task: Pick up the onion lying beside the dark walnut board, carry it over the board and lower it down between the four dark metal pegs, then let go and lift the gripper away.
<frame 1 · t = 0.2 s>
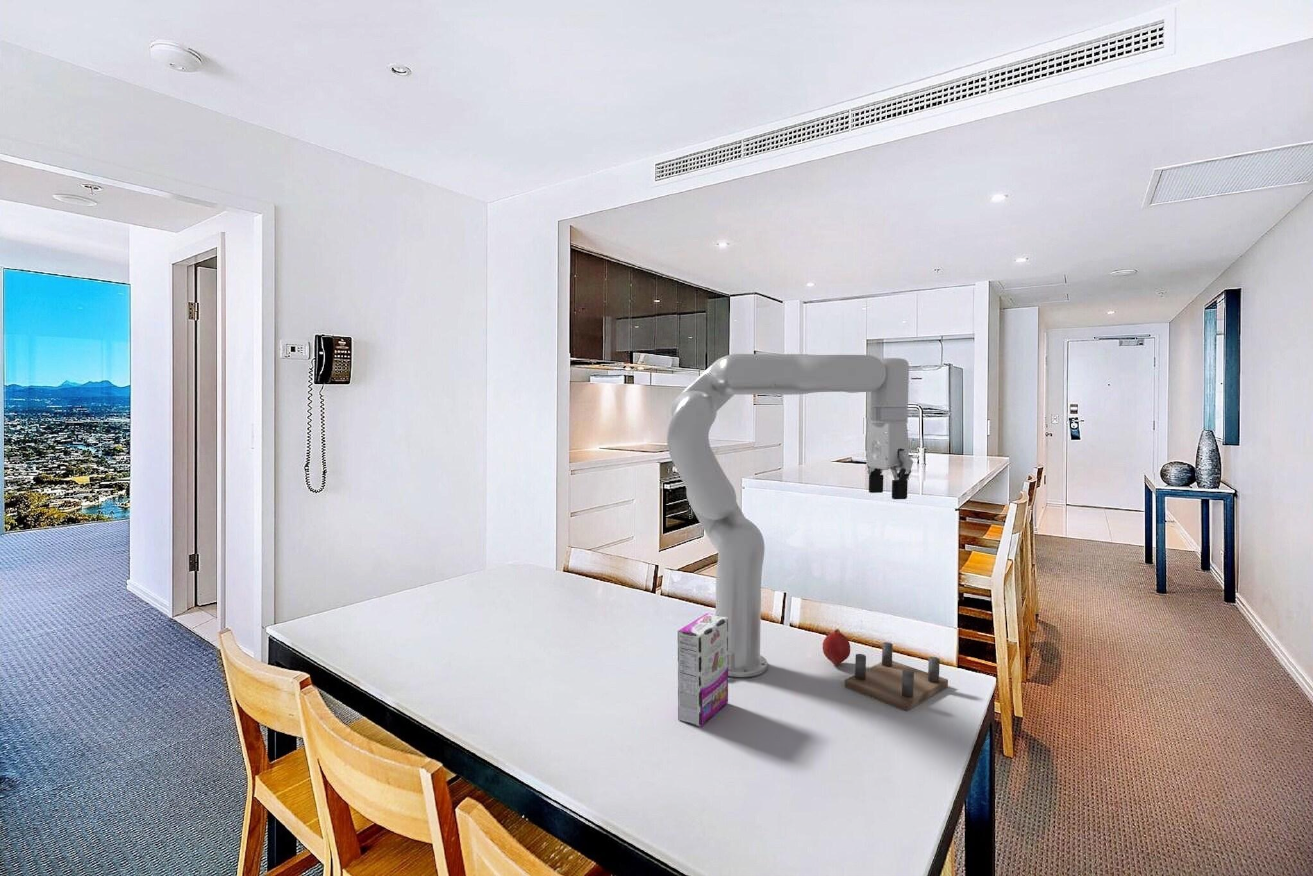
hand: (887, 495, 139), 36 cm above the table, tool pointing down, fingers open, 9 cm apart
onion: (835, 665, 138), on the table
peg holder: (896, 686, 128), on the table
candy bar box: (702, 712, 117), on the table
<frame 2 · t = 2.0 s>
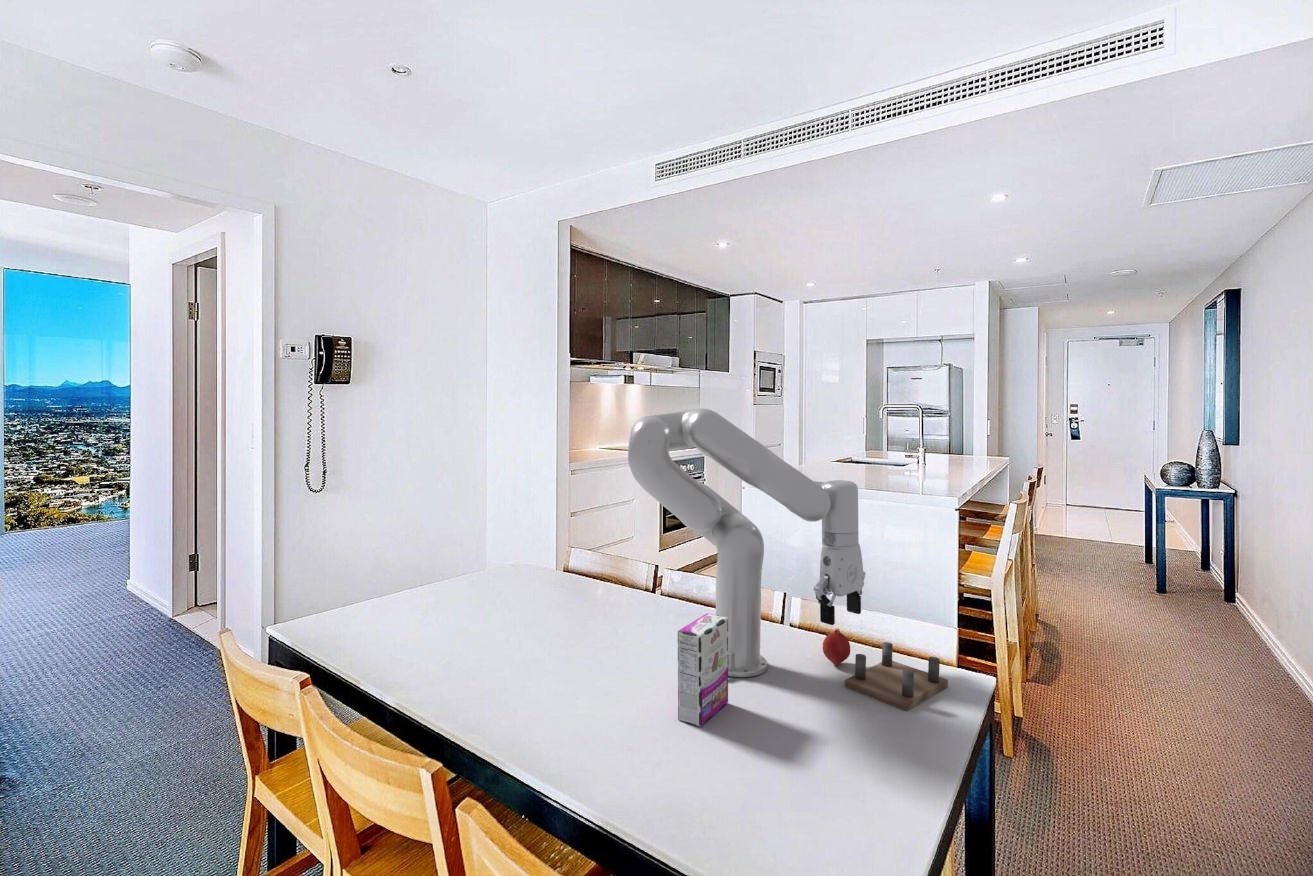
hand: (841, 617, 138), 10 cm above the table, tool pointing down, fingers open, 9 cm apart
nothing on the table moved.
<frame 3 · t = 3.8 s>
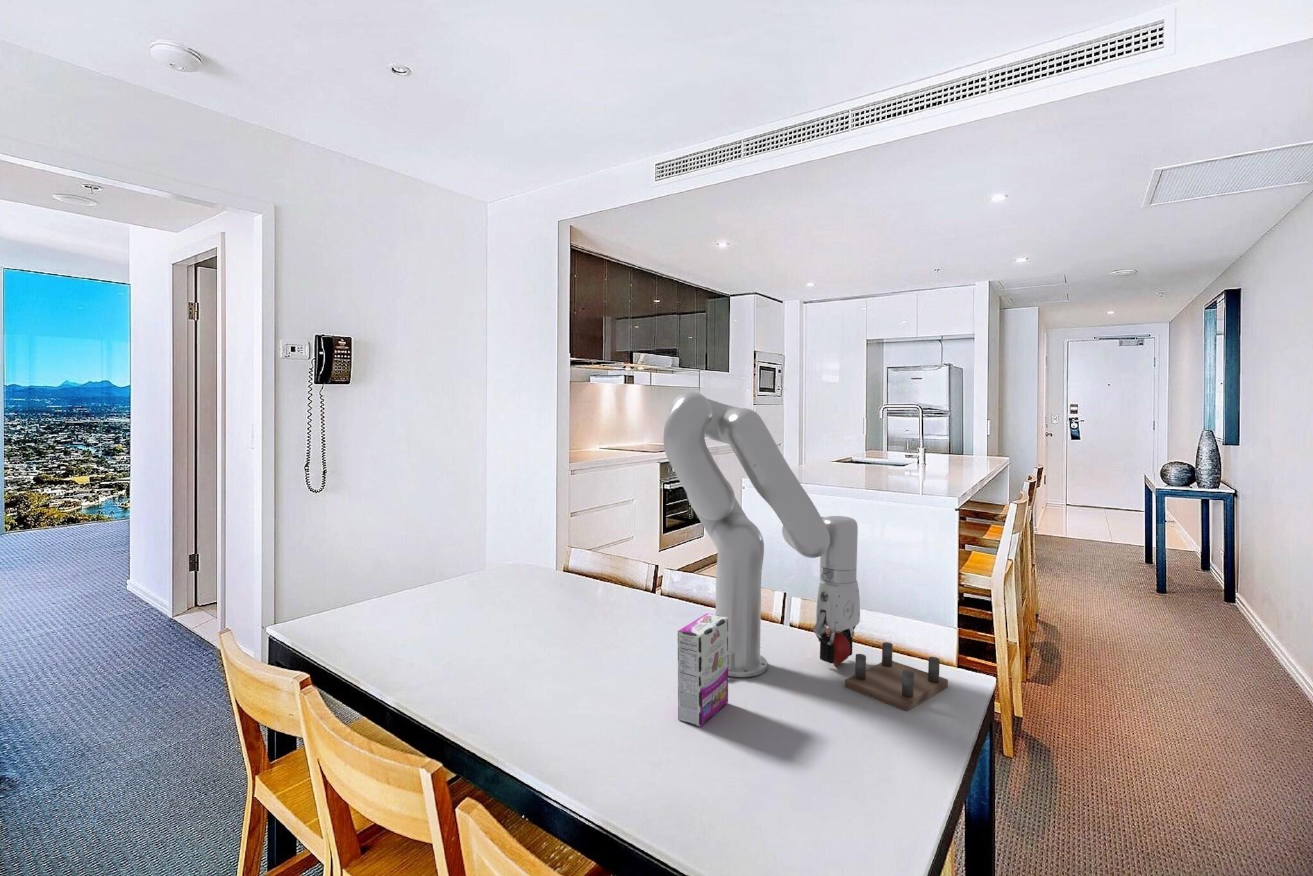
hand: (836, 656, 138), 2 cm above the table, tool pointing down, fingers closed on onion, 5 cm apart
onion: (836, 665, 138), on the table, touching gripper
everything else where it was.
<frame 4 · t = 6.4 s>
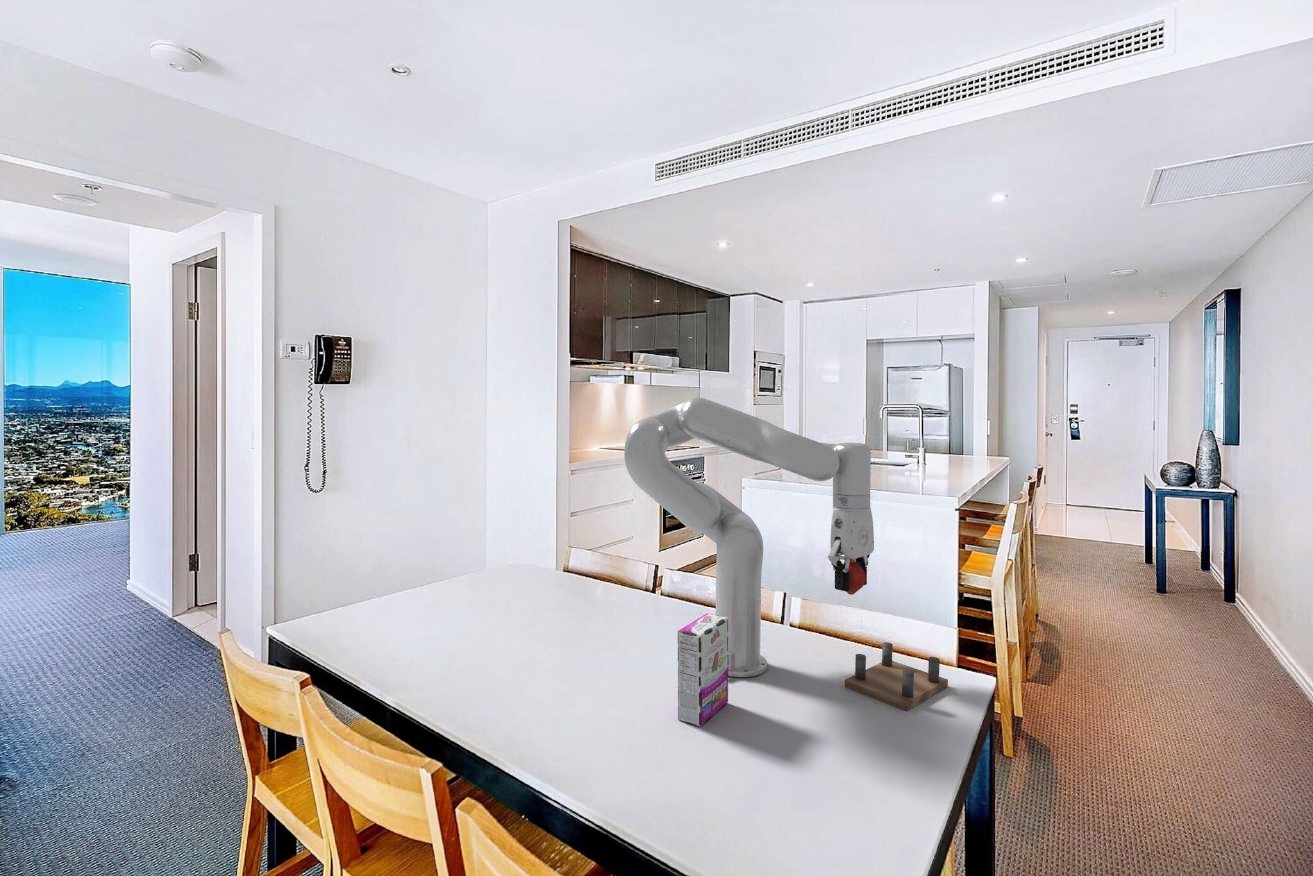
hand: (850, 586, 135), 18 cm above the table, tool pointing down, fingers closed on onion, 5 cm apart
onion: (850, 595, 135), point 16 cm above the table, touching gripper
everything else where it was.
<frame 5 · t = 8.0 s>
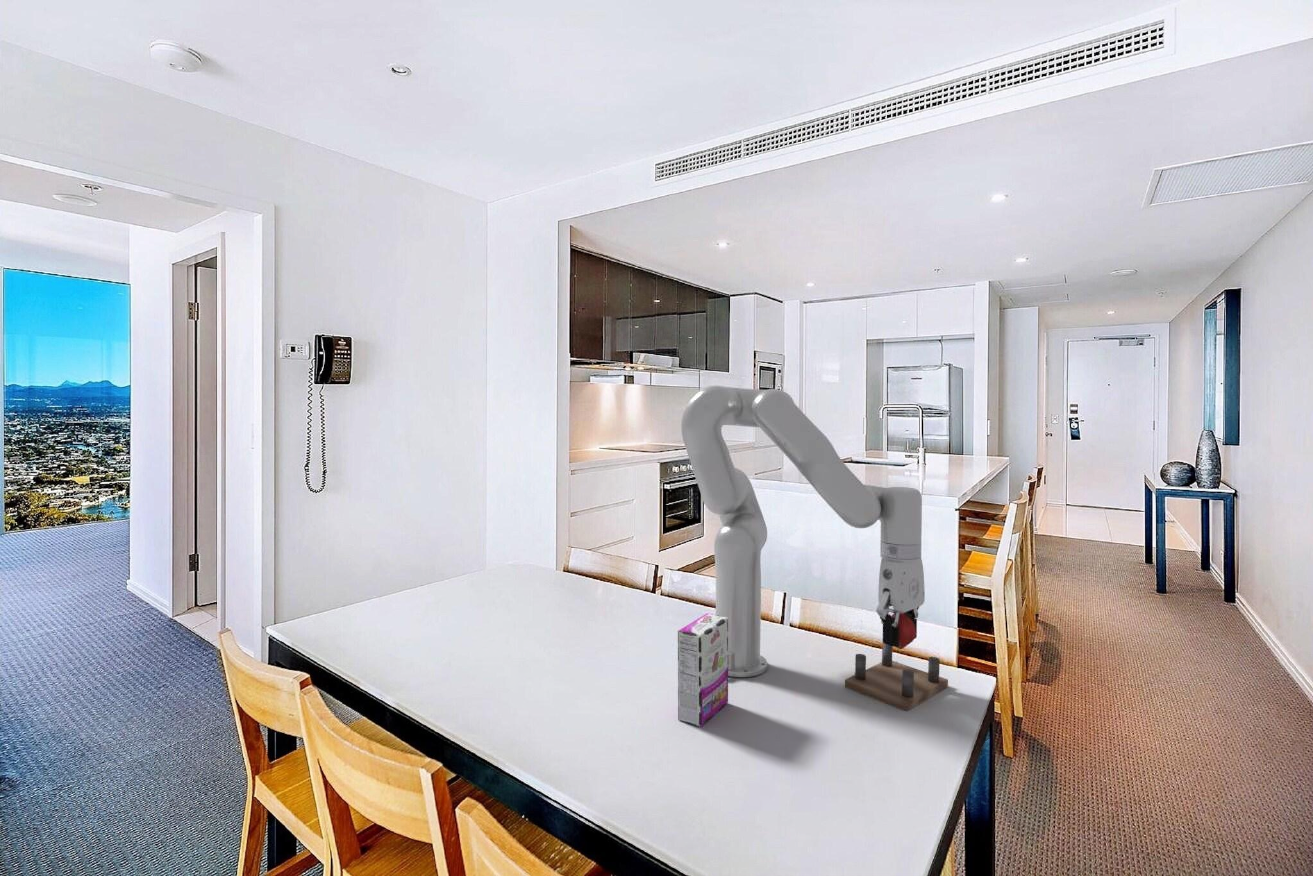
hand: (899, 640, 127), 10 cm above the table, tool pointing down, fingers closed on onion, 5 cm apart
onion: (899, 649, 127), point 8 cm above the table, touching gripper
everything else where it was.
when the fingers open (4 cm above the table, at t = 9.4 s): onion stays where it is, resting on peg holder.
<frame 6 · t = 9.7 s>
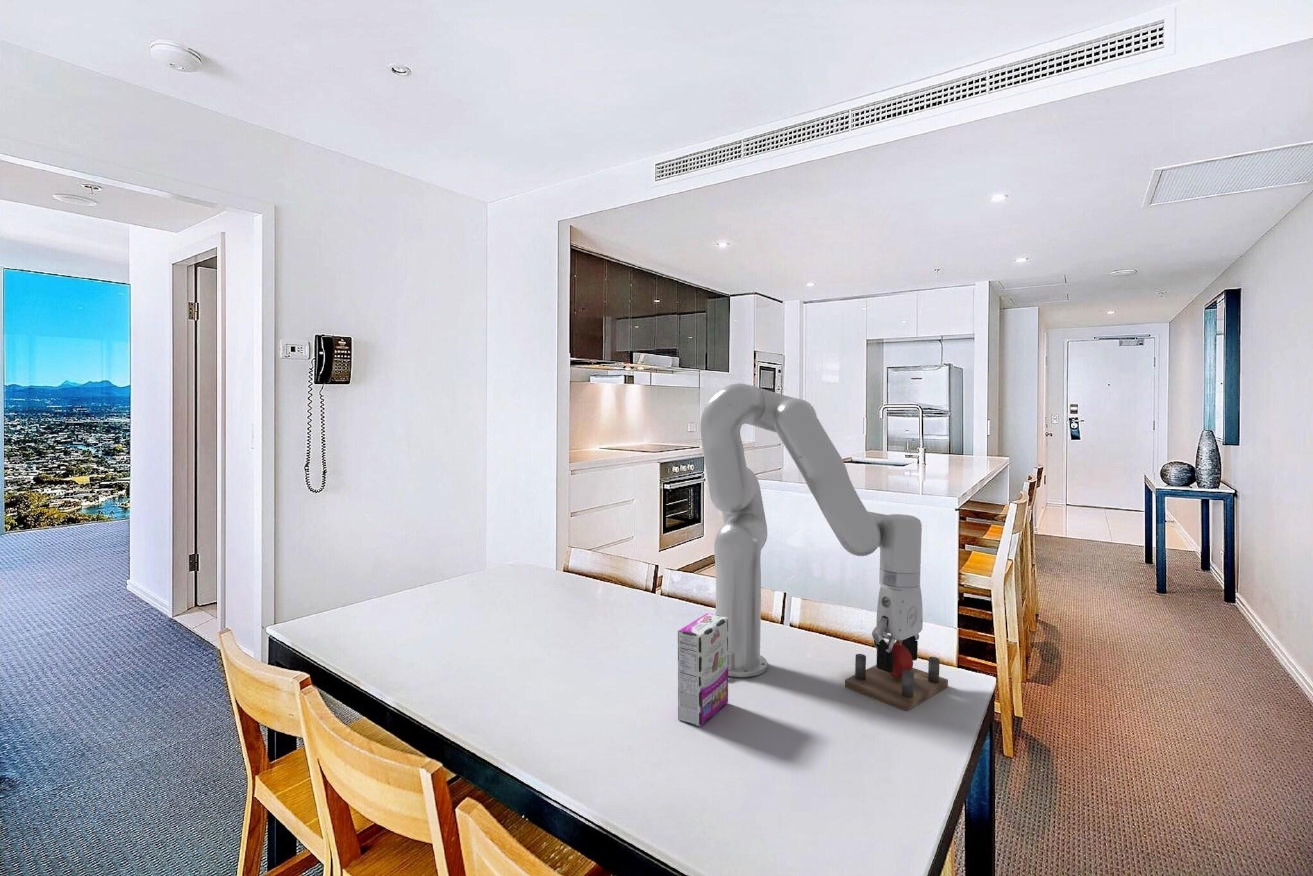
hand: (897, 663, 127), 5 cm above the table, tool pointing down, fingers open, 8 cm apart
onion: (896, 679, 128), point 1 cm above the table, touching peg holder
everything else where it was.
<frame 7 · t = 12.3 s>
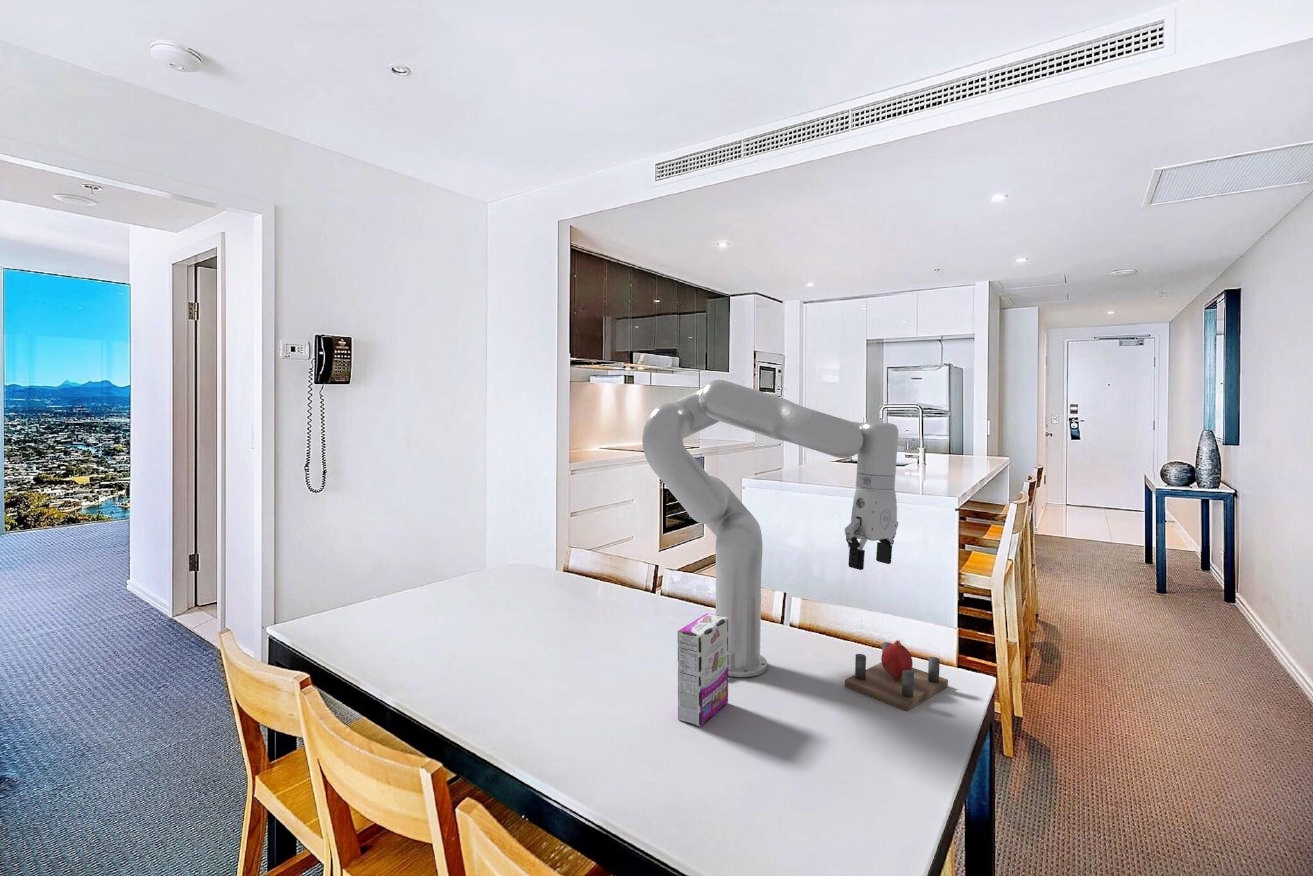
hand: (869, 565, 132), 23 cm above the table, tool pointing down, fingers open, 9 cm apart
nothing on the table moved.
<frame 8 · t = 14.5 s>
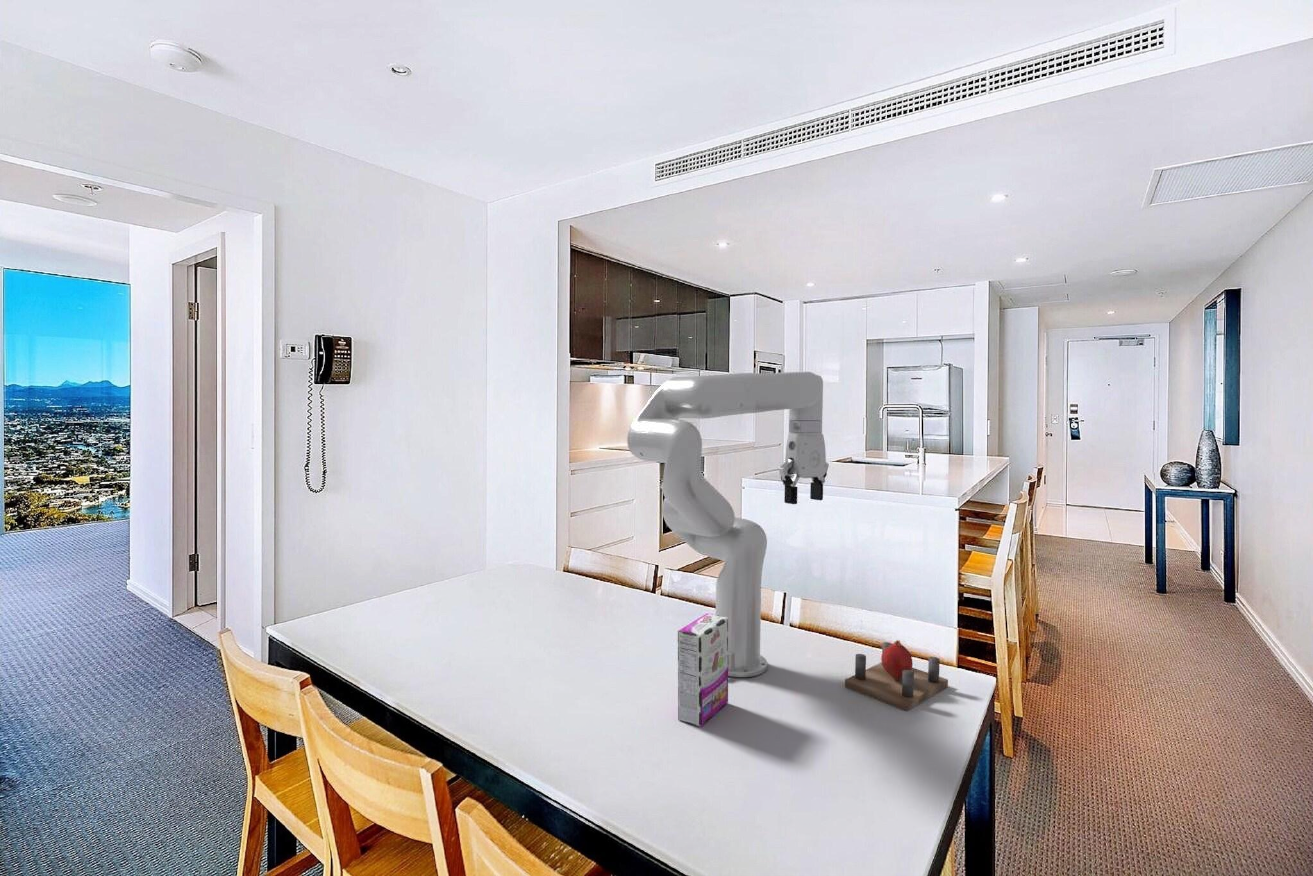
hand: (803, 501, 150), 33 cm above the table, tool pointing down, fingers open, 9 cm apart
nothing on the table moved.
at the end: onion 0.1 cm off-centre on the peg holder, point 1.3 cm above the peg holder's base; the gripper is holding nothing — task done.
